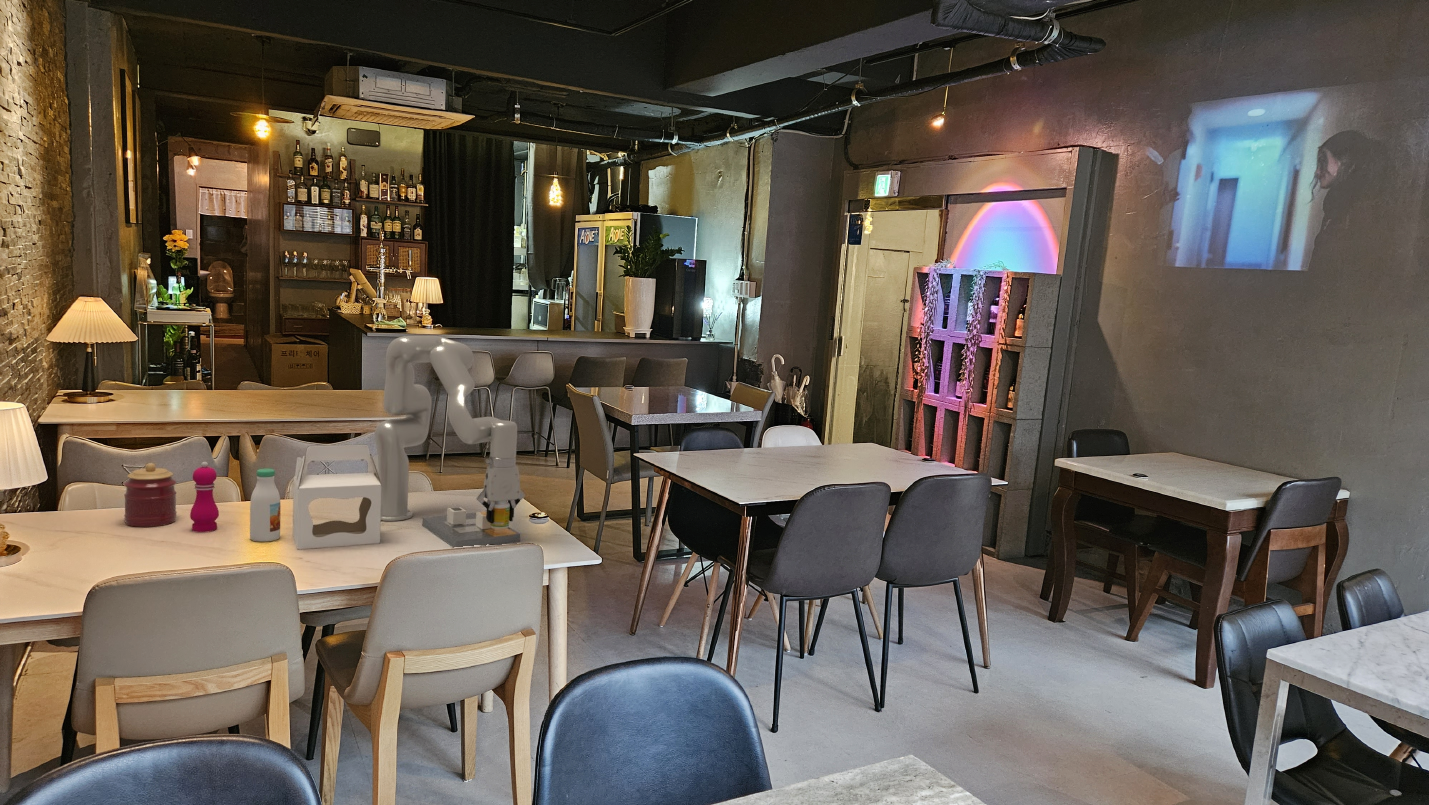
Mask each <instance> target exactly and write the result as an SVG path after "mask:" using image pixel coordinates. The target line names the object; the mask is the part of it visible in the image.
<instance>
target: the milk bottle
mask: <svg viewBox="0 0 1429 805" xmlns="http://www.w3.org/2000/svg"><path fill="white" fill-rule="evenodd" d="M275 472H276V470H275V469H273V468H260V469H257V470H256V478H257V481H256V484H255V487H254V489H253V491H252V493H251V495H250V505H249V506H250V507H249V508H250V509H249V511H250V512H249V539H250V540H251V541H252V542H259V543H262V542H263V543H264V542H273V541H276V540H279V538H280V537H281V496H280V491H279V489H278V488H277V486H276V483H275V478H276V476H275V475H276V473H275Z"/></svg>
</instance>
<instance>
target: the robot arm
mask: <svg viewBox="0 0 1429 805" xmlns="http://www.w3.org/2000/svg"><path fill="white" fill-rule="evenodd" d="M385 355H386V356H385V362H386V365H385V366H386V375H385V381H384V391H383V403H382V405H383V406H382V407H383V410H384V412H385V413H386V414H388V415H391V416H397V417H399V418H393V419H386V420H383V421H381V422H380V423H379V424H377V425H376V428H375V431H374V442H375V446H376V453H377V454H376V455H378V468H379V473H378V475H379V478H380V481H381V484H382V488H381V521H384V522H385V521H387V522H390V521H391V522H396V521H403V520H408V519H410V518H412V517H413V511H412V510H410V509H408V507H409V506H408V505H409V504H408V503H409V476H410V473H409V472H410V471H409V470H410V469H409V468H410V462H409V457H408V455H407V453H406V451H405V448H409V447H416V446H420V445H421V444H423V443H424V442H425V441H426V439H427V437H428V434H429V429H430V422H431V414H432V413H431V412H432V405H433V404H432V396H431V394H430V392H429V390H428V388H427V387H426V386H424V385H422V384H418V383H416V384H415V378H416V377H415V370H414V367H413V365H412V364H417V363H419V364H420V363H422V364H423V363H426V364H427V363H430V364H431V366H432V368H433V369H434V371H435V373H436V375H437V377H438V379H439V381H440V383H441V384H442V386H443V388H444V390H445V392H446V393H447V395H448V400H447V416H448V419H449V420H448V421H449V422H450V425H451V427H452V429H453V430H454V432H455V434H456V435H457V437H458V438H459V439H460V440H461V441H462V442H463V443H465V444H467V445H475V444H481V443H489V442H490V449H489V452H490V453H489V458H486V459H485V464H488V465H487V467H486V472H485V475H484V483H483V489H482V491H481V492H479V494H478V496H477V497H476V501H477V502H478V503H480V504H481V505H482V506H483V507H484V508H485V509H486V511H487V512H486V511H485V512H486V519H487V521H488V522H489V523H494V510H493V506H494V503H495V501H507V502H508V503H509V504H510V512H509V522H513V520H514V517H515V509H516V507H517V505H519V503H520V502H521V501H522V500H523V499H524V498H525V497H526V494H525V493H524V492H523V491H522V490H521V478H520V470H519V467H518V466H517V465H516V463H517V462H516V461H517V445H518V444H517V440H518V425H517V423H516V422H515V421H513V420H512V421H511V420H502V419H500V418H497V417H494V416H483V417H475V418H472V415H471V414H470V411H469V410H468V408H467V406H466V398H467V396H468V395H469V394H471V393H472V392H473V391H474V389H475V386H476V384H475V383H476V382H475V381H474V380H473V378H472V376H471V374H470V372H469V371H468V370H469V369H470V368H471V367H472V366H473V364H474V362H475V356H474V352H473V351H472V348H470V347H469V346H468V345H466V344H465V343H462V342H460V341H456V340H452V339H451V338H450V339H449V338H447V337H443V336H439V335H404V336H400V337H396V338H395V339H393V340H392V341H391V342H390V343H389V344H388V346H387V349H386V354H385ZM400 416H405V417H400ZM484 498H485V499H484ZM486 499H487V500H486Z"/></svg>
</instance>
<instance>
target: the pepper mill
mask: <svg viewBox="0 0 1429 805" xmlns="http://www.w3.org/2000/svg"><path fill="white" fill-rule="evenodd" d="M200 466H201V467H198V468H196V469H195V470H193V473H192V479H193V481H194V482H195V484H194V489H195V491H196V496H195V499H194V500H195V501H194V503H193V506H192V507H191V509H190V514H189V518H190V520H191V521H193V523H192V524H191V531H192V532H195V533H208V532H209V533H210V532H213V531H215V530H217V529H218V523H217V522H216V520H217V519H218V518H219V515H220V512H219V509H218V506H217V504H216V502H215V499H214V489H215V488H216V487H215V483H214V482H215V481H216V480H217V472H216V470H215V468H213V467H210V466H209V463H208V462H207V461H203V462H201V464H200Z"/></svg>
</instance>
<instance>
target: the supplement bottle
mask: <svg viewBox="0 0 1429 805" xmlns="http://www.w3.org/2000/svg"><path fill="white" fill-rule="evenodd" d="M493 510H494V523H491V527H492V528H494V529H505V528H508V527H510V521H509V512H510V504H509V503H508V501H495V503H494V506H493Z"/></svg>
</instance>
